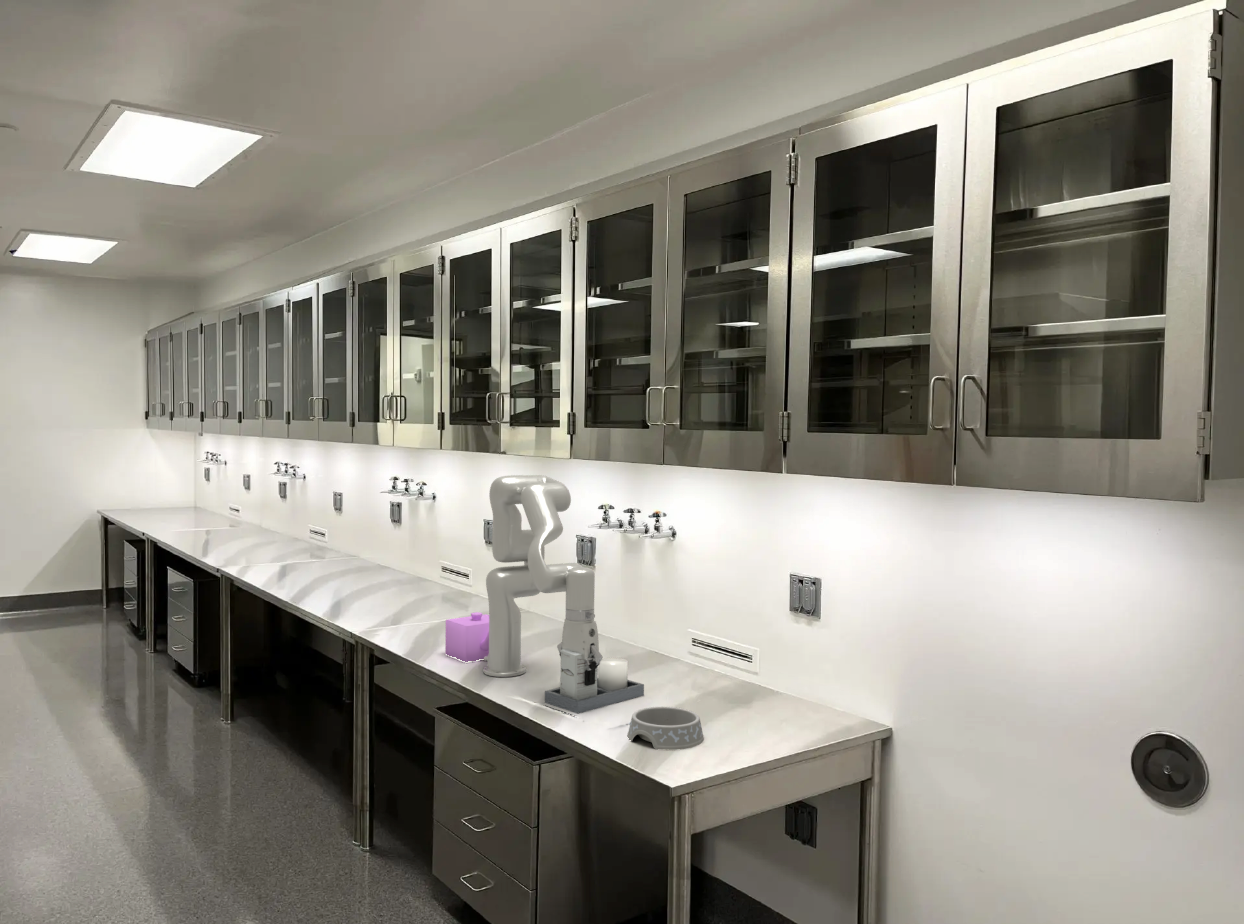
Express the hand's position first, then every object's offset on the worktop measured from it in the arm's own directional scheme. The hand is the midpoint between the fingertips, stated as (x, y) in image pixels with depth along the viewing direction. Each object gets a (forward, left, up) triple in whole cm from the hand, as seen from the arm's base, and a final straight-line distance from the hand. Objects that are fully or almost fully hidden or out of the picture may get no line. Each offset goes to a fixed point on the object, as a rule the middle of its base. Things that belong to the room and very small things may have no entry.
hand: (578, 681), depth 238 cm
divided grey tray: (0, +6, -7) cm, 9 cm away
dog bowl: (+32, -1, -7) cm, 32 cm away
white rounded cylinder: (0, +12, -6) cm, 14 cm away
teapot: (-62, +12, -7) cm, 63 cm away
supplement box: (0, 0, -5) cm, 5 cm away
